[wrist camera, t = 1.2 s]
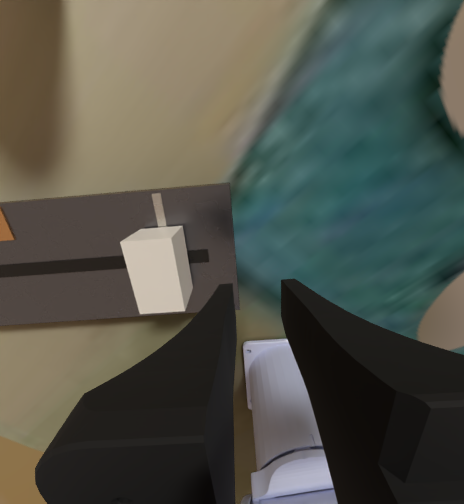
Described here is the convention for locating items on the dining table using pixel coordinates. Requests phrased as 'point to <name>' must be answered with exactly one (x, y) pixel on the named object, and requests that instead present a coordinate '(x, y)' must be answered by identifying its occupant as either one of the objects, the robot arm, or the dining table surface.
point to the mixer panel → (106, 251)
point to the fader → (158, 269)
